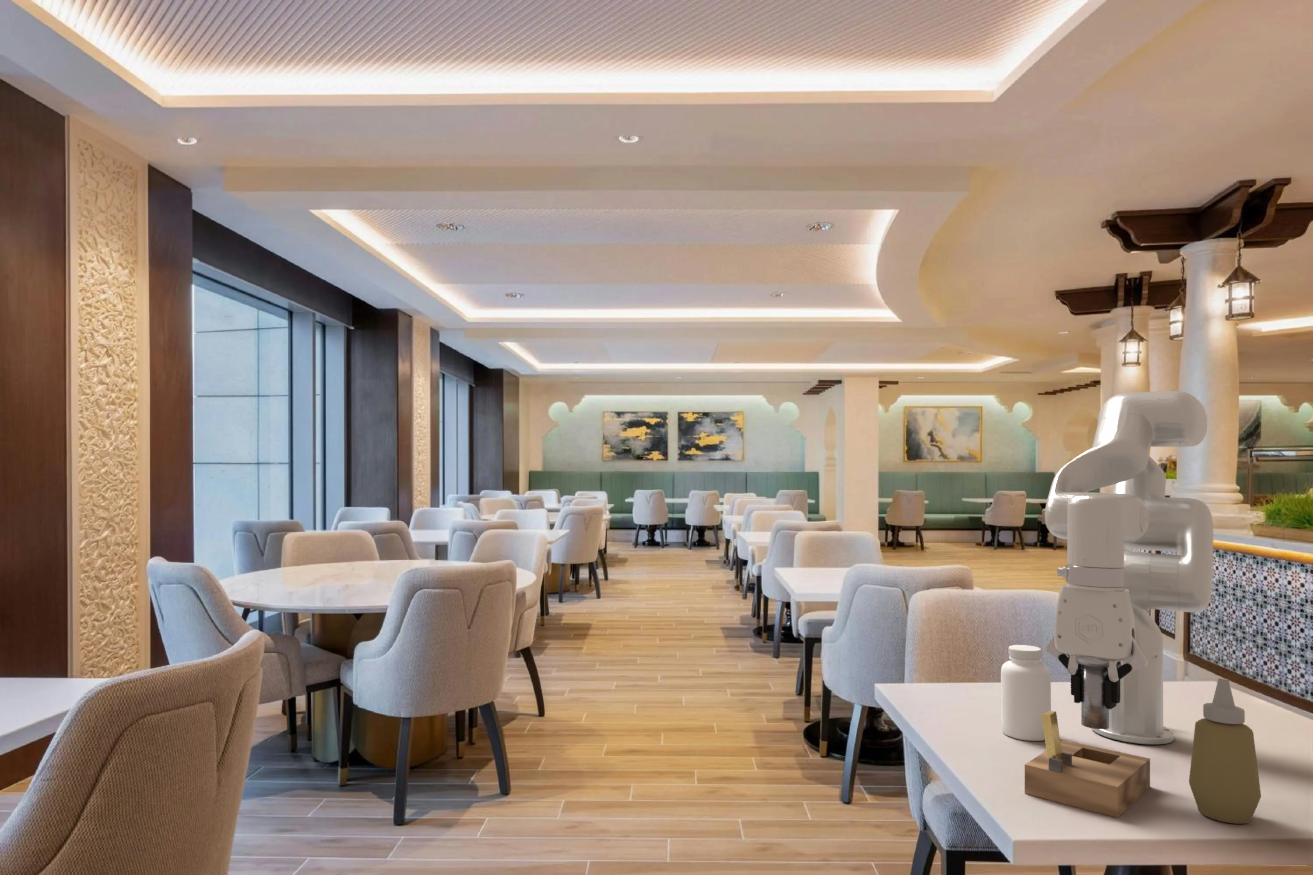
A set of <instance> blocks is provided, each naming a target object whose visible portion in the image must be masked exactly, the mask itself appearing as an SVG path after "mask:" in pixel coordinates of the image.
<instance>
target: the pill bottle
mask: <svg viewBox="0 0 1313 875" xmlns="http://www.w3.org/2000/svg"><path fill="white" fill-rule="evenodd" d="M1042 656H1043V650H1042V649H1041V647H1038V646H1035V645H1026V644H1013V645H1009V646H1008V659H1009V660H1007V661H1005V662H1004V663H1003V664H1002V665H1001V668H1000V669H1001V670H1000V694H1001V695H1000V697H1001V698H1000V700H1001V701H1000V704H1001V705H1000V707H1001V708H1000V711H1001V712H1000V717H1001V718H1000V719H1001V720H1000V723H1001V725H1000V726H1001V731H1002V733H1003V734H1004V735H1006V736H1008V737H1010V738H1012V739H1016V740H1021V741H1029V742H1038V741H1039V742H1041V741H1045V736H1044V729H1043V722H1042V715H1041V714H1043V713H1045V712H1046V711H1052V690H1051V689H1052V686H1051V685H1052V682H1051V681H1052V679H1051V676H1052V675H1051V674H1052V673H1051V670H1050V669H1049V668H1048V666H1047V665H1045V663H1042V661H1043V659H1042Z"/></svg>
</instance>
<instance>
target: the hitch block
mask: <svg viewBox="0 0 1313 875" xmlns="http://www.w3.org/2000/svg"><path fill="white" fill-rule="evenodd" d="M1060 742H1061V749H1062V757H1063V760H1061V759H1057V758H1053V757H1050V758H1049V765H1048V758H1047V750H1046V749H1045V751H1043V752H1042V753H1040V754H1039V755H1037V756H1035V757H1034V758H1033V759H1031V760H1030V761H1028V762H1026V763H1025V764H1024V794H1027V795H1030V796H1034V797H1036V798H1037V797H1038V798H1042V799H1044V800H1049V801H1053V802H1056V803H1061V804H1064V805H1067V806H1071V807H1075V808H1079V809H1083V810H1086V811H1087V810H1088V811H1090V812H1094V813H1098V814H1102V815H1106V816H1110V817H1114V818H1117V819H1118V818H1119V817H1121V816H1122V815H1123V813H1125V811H1126V810H1128V808H1129V807H1131V806H1132V805H1133V804H1134V803H1135V802H1136V800H1139V798H1140V797H1141V796H1142V795H1143V794H1144V793H1145V792H1146V791H1147V790H1148V789H1149V788H1150V787H1151V758H1149V757H1144V756H1139V755H1136V754H1131V753H1127V752H1121V751H1116V750H1113V749H1107V748H1103V747H1099V746H1093V745H1089V744H1085V743H1080V742H1074V741H1072V740H1071V741H1070V740H1067V739H1062V740H1060Z"/></svg>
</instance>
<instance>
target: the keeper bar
mask: <svg viewBox="0 0 1313 875" xmlns="http://www.w3.org/2000/svg"><path fill="white" fill-rule="evenodd" d="M1041 715H1042V722H1043V729H1044V736H1045V740H1044V741H1045V742H1044V743H1045V751H1046V750H1047V758H1048V765H1049V758H1050V757H1053V758H1057V759H1061V760H1063V757H1062V749H1061V742H1060V741H1061V736H1060V728H1059V723H1058V716H1057V711H1056V710H1055V711H1054V710H1051V711H1046V712H1045V713H1043V714H1041Z"/></svg>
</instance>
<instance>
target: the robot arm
mask: <svg viewBox="0 0 1313 875" xmlns="http://www.w3.org/2000/svg"><path fill="white" fill-rule="evenodd" d="M1207 429H1208V417H1207V413H1206V409H1205V407H1204V405H1203V404H1202V402H1201V401H1200V400H1199V399H1198V398H1197V397H1196V396H1194V395H1193V394H1190V393H1188V392H1185V391H1181V390H1167V391H1165V390H1162V391H1161V390H1160V391H1134V392H1133V391H1132V392H1124V393H1118V394H1116V395H1112V397H1111V396H1110V397H1109V399H1107V400H1106V401H1105V402H1104V404H1103V406H1102V408H1101V410H1100V411H1099V413H1098V415H1097V425H1096V430H1095V434H1094V438H1093V442H1092V446H1091V447H1090V448H1089V449H1086V450H1085V451H1083V452H1082V453H1080V454H1078V455H1077V456H1076V457H1074V458H1073V459H1071V460H1070V461H1068V462H1067V463H1066V464H1065V465H1063V466H1062V467H1061V468H1060V469H1059V470H1058V471H1057V472H1056V474H1055V475H1054V477H1053V480H1052V481H1051V485H1050V489H1049V493H1048V496H1047V499H1046V504H1045V510H1044V521H1045V526H1046V528H1047V530H1048V531H1049V533H1050V534H1051V535H1052V536H1054V537H1056V538H1058V539H1061V540H1067V541H1066V542H1067V545H1066V547H1067V548H1066V549H1067V550H1066V551H1067V552H1066V554H1067V555H1066V556H1067V557H1066V558H1067V561H1066V562H1067V563H1066V564H1065V566H1062V567H1057V569H1056V574H1057V576H1058V577H1062V578H1064V579H1065V582H1066V584H1062V585H1060V589H1059V593H1058V598H1057V605H1056V612H1055V613H1056V614H1055V623H1054V635H1053V637H1052V638H1051V639H1050V641H1049V642H1048V644H1047V645H1046V648H1045V649H1046V650H1045V651H1046V652H1048V653H1049V654H1050V655H1052V656H1053V657H1054V658H1056V659H1057V660H1058V661H1059V662H1060V663H1061V664H1062V665H1063V666H1064V668H1065V669H1066V670H1067V673H1068V674H1069V675H1070V695H1071V696H1073V702H1074V703H1075V704H1080V703H1081V664H1078V663H1076V655H1077V656H1091V657H1095V658H1098V659H1103V660H1109V667H1108V673H1109V676H1108V680H1107V681H1105V707H1106V708H1107V709H1109V728H1108V729H1093V728H1091V729H1092V730H1093V731H1094V732H1095V733H1097V734H1098V735H1101V736H1103V737H1104V738H1109V739H1111V740H1116V741H1120V742H1125V743H1131V744H1137V745H1138V744H1139V745H1152V746H1153V745H1166V744H1169V743H1172V742H1173V741H1174V740H1175V736H1174V735H1175V733H1174V732H1173V730H1171V729H1170V728H1168V727H1166V726H1164V640H1163V639H1164V638H1163V633H1162V631H1161V628H1160V627H1159V625H1158V624H1157V623H1156V622H1155V620H1154V619H1153V618H1152V617H1151V616H1150V614H1149V613H1148V612H1147V611H1146V610H1161V611H1170V612H1171V611H1172V612H1181V613H1183V612H1184V613H1199V612H1202V611H1204V610H1206V609H1207V608H1208V607H1209V604H1210V601H1211V598H1212V588H1213V587H1212V586H1213V559H1214V557H1213V556H1214V553H1213V552H1214V522H1213V515H1212V513H1211V510H1210V507H1208V505H1207V504H1206V503H1205V502H1203V501H1201V500H1200V499H1196V498H1191V497H1190V498H1189V497H1170V496H1169V497H1168V496H1166V484H1167V477H1166V473H1165V472H1164V470H1163V469H1162V467H1161V466H1160V465H1159V464H1158V463H1157V462H1156V461H1155V460H1154V458H1152V457H1151V456H1150V451H1151V447H1153V448H1154V447H1155V448H1157V447H1158V448H1162V447H1163V448H1165V447H1168V448H1170V447H1171V448H1173V447H1174V448H1176V447H1177V448H1178V447H1179V448H1180V447H1181V448H1183V447H1184V448H1186V447H1187V448H1188V447H1196V446H1199V445H1200V444H1201V443H1202V442H1203V440H1204V438H1205V436H1206V435H1207V434H1206V433H1207ZM1109 486H1112V488H1111V492H1110V493H1109V492H1107V493H1106V492H1091V491H1095V490H1097V489H1098V490H1099V489H1101V488H1105V487H1106V488H1107V487H1109ZM1125 548H1128V549H1132V550H1143V551H1160V552H1173V553H1175V552H1176V553H1179V554H1167V553H1165V554H1163V553H1154V552H1141V551H1140V552H1139V551H1125Z"/></svg>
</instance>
